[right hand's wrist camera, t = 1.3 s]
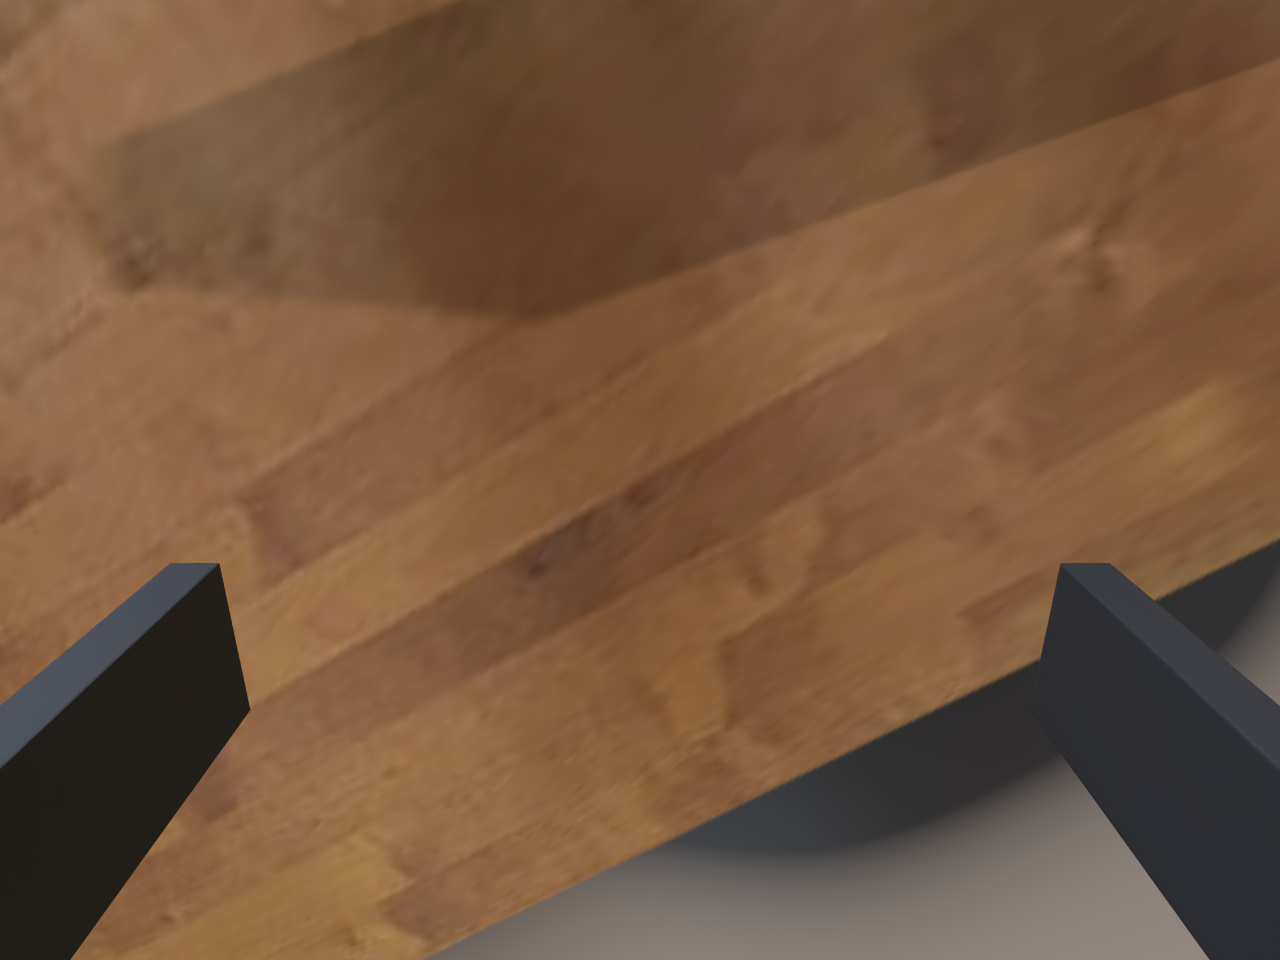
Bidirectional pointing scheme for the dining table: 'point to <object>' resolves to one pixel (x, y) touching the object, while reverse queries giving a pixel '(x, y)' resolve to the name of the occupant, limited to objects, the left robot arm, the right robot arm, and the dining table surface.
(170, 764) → the right robot arm
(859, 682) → the dining table surface
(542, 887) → the dining table surface
